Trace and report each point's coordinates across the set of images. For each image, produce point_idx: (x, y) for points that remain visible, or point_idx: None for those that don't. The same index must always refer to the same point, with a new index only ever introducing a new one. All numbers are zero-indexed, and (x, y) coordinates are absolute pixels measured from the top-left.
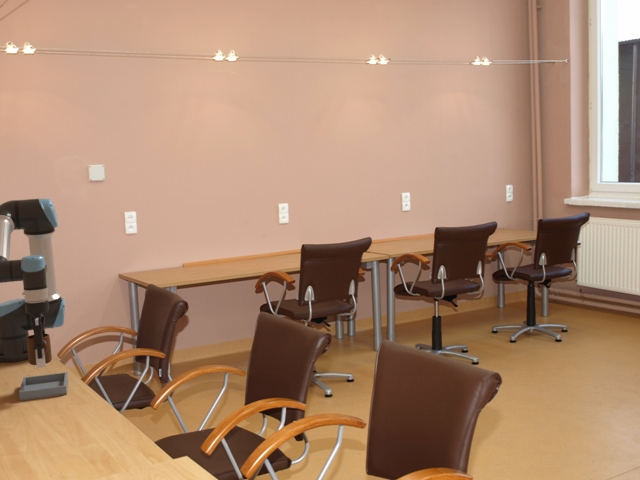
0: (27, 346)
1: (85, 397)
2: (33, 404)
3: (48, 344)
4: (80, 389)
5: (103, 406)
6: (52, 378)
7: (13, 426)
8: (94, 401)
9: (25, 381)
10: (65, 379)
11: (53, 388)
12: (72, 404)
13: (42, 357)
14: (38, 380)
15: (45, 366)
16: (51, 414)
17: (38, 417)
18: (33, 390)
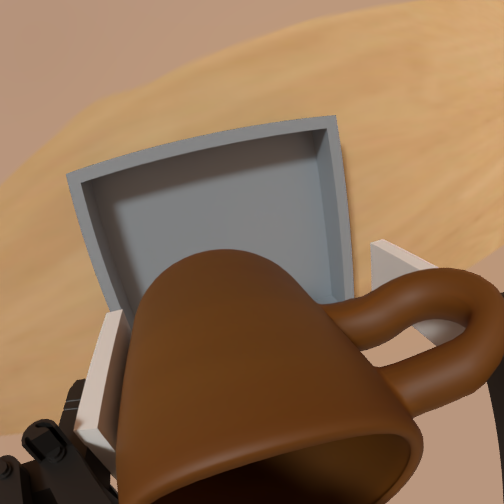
0: (305, 476)
1: (366, 43)
2: (389, 231)
3: (313, 328)
4: (255, 65)
5: (442, 8)
6: (104, 244)
7: (498, 233)
8: (407, 21)
9: None
10: (216, 138)
11: (341, 174)
12: (421, 89)
13: None
14: (127, 306)
15: (376, 241)
16: (472, 150)
17: (478, 184)
18: (351, 261)
